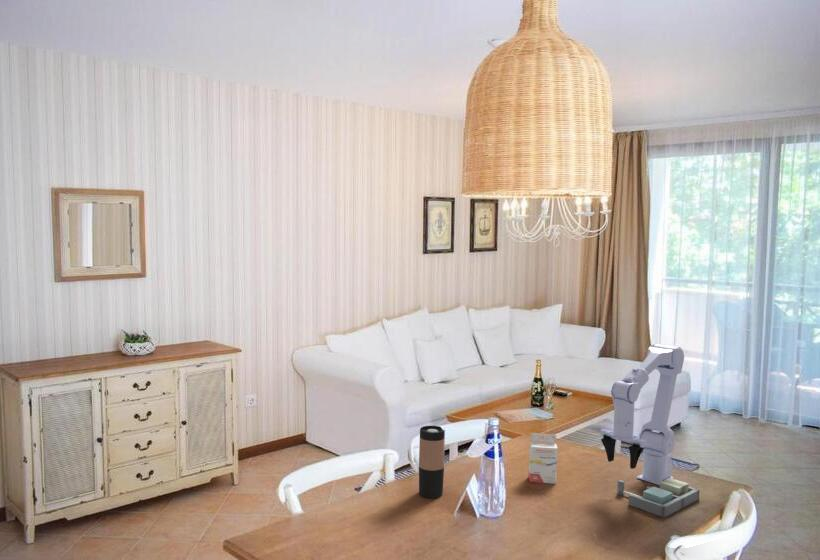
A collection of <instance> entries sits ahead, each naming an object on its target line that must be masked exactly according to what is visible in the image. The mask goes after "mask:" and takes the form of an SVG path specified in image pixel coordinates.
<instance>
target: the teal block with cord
mask: <svg viewBox="0 0 820 560" xmlns="http://www.w3.org/2000/svg"><path fill="white" fill-rule="evenodd" d="M650 487H651V488H649V489H647V490H646V489H644V490H643V491H642V496H640V495H638V494H635V493H632V492H629V491H626V490H625V481H624V480H621V479H618V480H617V489H616V491H617V492H616V494H617V495H619V496H625V495H628V496H629V495H630V494H633V495H636V496H638V497H641V498H644V499H647V500H650V501H653V502H656V503H659V504H662V505H664V504H666V503H668V502H670V501H672V496H673V493H672V492H669V491H666V490H663V489H660V487H656V486H650Z"/></svg>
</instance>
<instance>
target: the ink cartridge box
mask: <svg viewBox="0 0 820 560" xmlns="http://www.w3.org/2000/svg"><path fill="white" fill-rule="evenodd" d="M543 437H544V438H543ZM558 450H559V449H558V445H557V435H556V434H548V433H534V432H532V433H531V434H530V442H529V458H528V480H529V483H541V484H551V485H552V484H553V485H554V484H557V474H558V456H559V455H558V454H559V453H558V452H559V451H558Z"/></svg>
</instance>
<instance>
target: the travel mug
mask: <svg viewBox="0 0 820 560" xmlns="http://www.w3.org/2000/svg"><path fill="white" fill-rule="evenodd" d="M445 431H446V429H443V428H442V427H441V426H440V425H439V426H438V425H425V426H422V427H420V429H419V451H418V494H419V496H420V497H421V498H426V499H438V498H441V497H443V493H444V476H445V445H446V444H445V439H446V437H445V434H446V432H445Z"/></svg>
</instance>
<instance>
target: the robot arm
mask: <svg viewBox="0 0 820 560" xmlns="http://www.w3.org/2000/svg"><path fill="white" fill-rule="evenodd" d="M684 361H685V354H684V350H683V349H682V347H680V346H674V345H673V346H672V345H666V344H665V345H664V344H659V343H655V342H654V343H652V344H651V345H650V346H649V347H648V348H647V354H646V357H645V359H644V360H643V362H641V364H640V365H639V366H637V367H635V366H634V367H633V368H632V369H631V370H630V371H629V372H628V373H627V374H626V375H625V376H624V377H623V379H621V380H618V381H615V382H614V383H613V384H612V387H611V389H610V395H611V398H612V404H613V405H614V410H613V411H614V412H613V429H612V430H611V429H606V428H603V429H600V437H602V438H601V439H600V440H601V443H602V445H603V447H604V450H605V453H606V458H607V461H608V462H609V463H611V462H614V460H615V450H616V443H617V441H620V442H623V443H627V444H631V445H630V446H628V451H629V459H630V461H629V466H630V468H629V469H632V470H633V469H636V468H637V465H638V460H639V458H640V456H641V454H643V457H642V474H639V475H637V476H636V479H639V480H642V481H645V482H648V483H652V484H654V485H658V486H660V482H662V481H663V479H668V478H672V479H674V476H672V463H673V462H672V460H673V459H672V456H671V453H672V452H673V449H674V445H675V442H674V437H675V432H674V431H673V429H671V428H670V426H669V425H668V423H669V422H668V421H669V417H670V412H671V408H672V407H671V406H672V402H673V397H674V393H675V389H676V388H675V387H676V382H677V377H678V375H679V374H682V370H683V366H684ZM655 370H656V371H658V372H659V375H660V376H659V380H658V384H657V388H656V394H655V399H654V404H653V409H652V414H651V418H650V419H651V420H650V421H648V422H646V423H643V425H642V427H641V430H640V432H639V434H638V435H634V423H635V421H634V418H635V402H636V401H638V400H639V396H640V393H641V390H642V388H643V387H644V386H645V385H646V384H647V383H648V382H649V380H650V379H649V375H650V374H651V373H653V371H655ZM655 431H657V432H655Z"/></svg>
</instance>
